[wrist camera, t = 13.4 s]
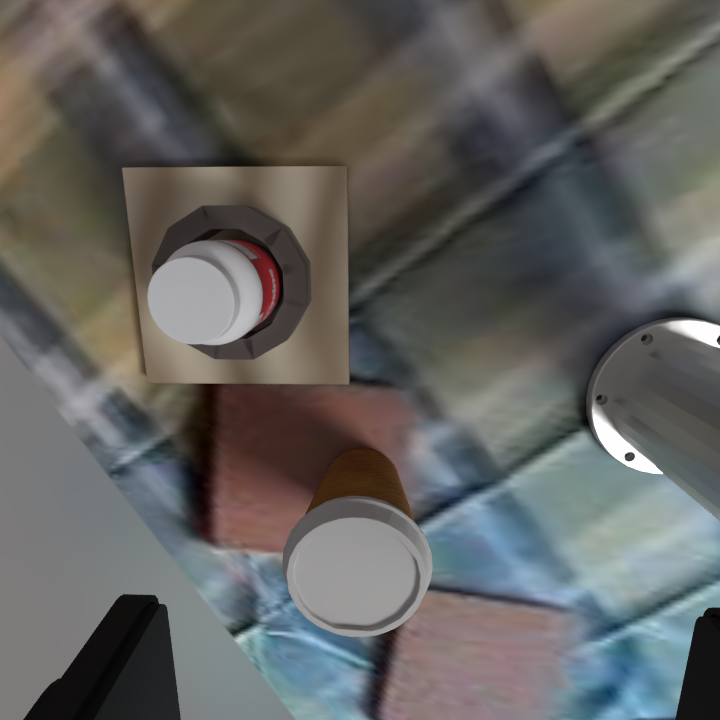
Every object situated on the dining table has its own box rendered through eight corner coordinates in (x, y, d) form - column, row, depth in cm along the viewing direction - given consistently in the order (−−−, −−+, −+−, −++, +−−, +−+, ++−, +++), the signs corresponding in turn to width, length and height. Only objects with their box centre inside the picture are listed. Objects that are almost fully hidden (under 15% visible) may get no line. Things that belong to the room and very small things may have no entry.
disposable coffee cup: (285, 495, 42) (250, 596, 30) (345, 408, 40) (332, 481, 28) (377, 550, 43) (377, 667, 31) (440, 468, 41) (466, 562, 29)
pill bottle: (264, 336, 37) (219, 378, 27) (191, 298, 37) (115, 326, 26) (299, 263, 36) (267, 276, 25) (224, 223, 35) (157, 219, 25)
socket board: (347, 167, 35) (344, 159, 31) (349, 380, 39) (346, 397, 35) (128, 169, 36) (98, 161, 32) (153, 379, 40) (128, 395, 36)
